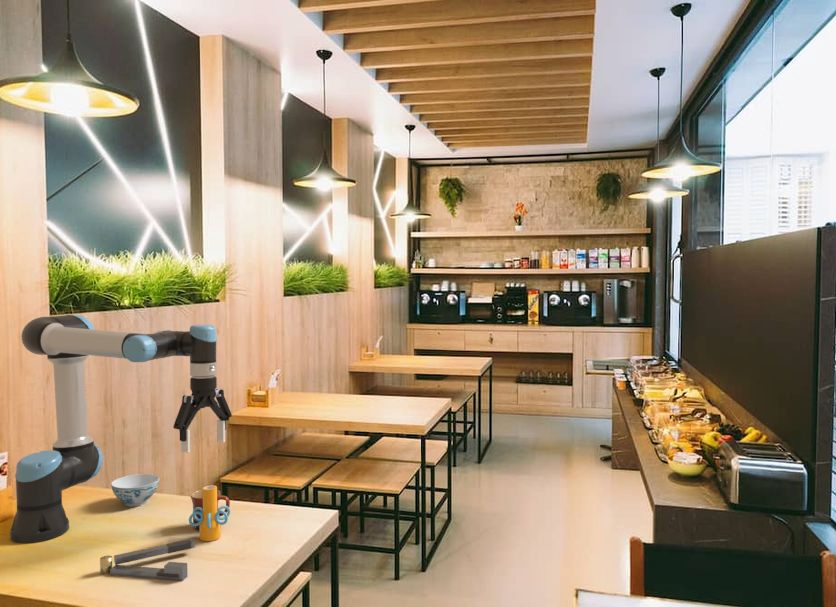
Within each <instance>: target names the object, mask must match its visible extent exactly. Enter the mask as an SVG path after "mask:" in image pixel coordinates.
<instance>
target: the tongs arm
mask: <svg viewBox="0 0 836 607" xmlns="http://www.w3.org/2000/svg"><path fill="white" fill-rule="evenodd" d="M195 548H196V542H195V540H194V539H193V538H190V539H189V538H188V539H182V540H179V541H174V542H169V543H166V544H161V545H157V546H152V547H148V548H143V549H139V550H134V551H129V552H124V553H118V554H115V555H113V562H114V566H115V565H122V564H125V563H131V562H135V561H140V560H144V559H148V558H151V557H152V558H153V557H157V556H162V555H167V554H173V553H178V552H182V551H187V550H191V549H195Z"/></svg>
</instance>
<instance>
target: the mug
mask: <svg viewBox="0 0 836 607" xmlns="http://www.w3.org/2000/svg"><path fill="white" fill-rule="evenodd" d="M189 496H190V500H191V501H192V511H193V510H194V509H195V508H196V507H200V508H202V509H203V489H197V490H196V491H193V492H192V493H190V495H189ZM220 500H224V501H225V506H228V507H229V508H230V507H231V506H230V505H231V500H230V498H229V497H228V496H226V495H221V490H219V489H217V510H218V508H219V501H220ZM224 509H225V508H224ZM223 511H224V512H226V514H227V513H228V511H227V509H225V510H223ZM196 512H201V511H200V510H196ZM201 513H202V512H201ZM219 516H220V517H224V514H222V513H219ZM196 517H197V518H199V519H201V516H200V515H199V514H196ZM192 522H193V523H194V524H196V523H198V522H199V521H196V520H195V519H194V517H192ZM199 526H200V525H199ZM199 526H193V527H194V528H195V529H196V530H199Z"/></svg>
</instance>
